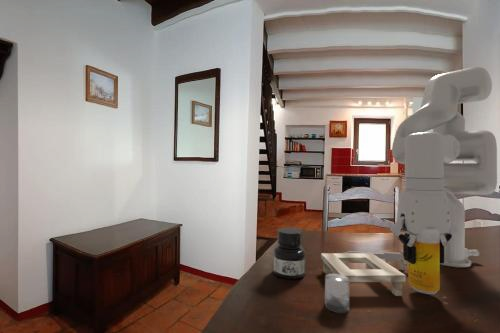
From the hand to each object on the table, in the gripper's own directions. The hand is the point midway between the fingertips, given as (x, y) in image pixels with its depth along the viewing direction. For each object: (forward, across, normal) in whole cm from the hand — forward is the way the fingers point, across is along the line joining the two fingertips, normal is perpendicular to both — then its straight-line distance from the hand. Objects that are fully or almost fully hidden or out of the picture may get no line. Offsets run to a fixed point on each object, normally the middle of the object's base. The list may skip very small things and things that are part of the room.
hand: (423, 260), depth 59 cm
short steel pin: (+8, +23, +4) cm, 24 cm away
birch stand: (+8, +13, -6) cm, 16 cm away
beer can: (+7, 0, 0) cm, 7 cm away
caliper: (+9, +1, -20) cm, 22 cm away
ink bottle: (+8, +30, -12) cm, 33 cm away
